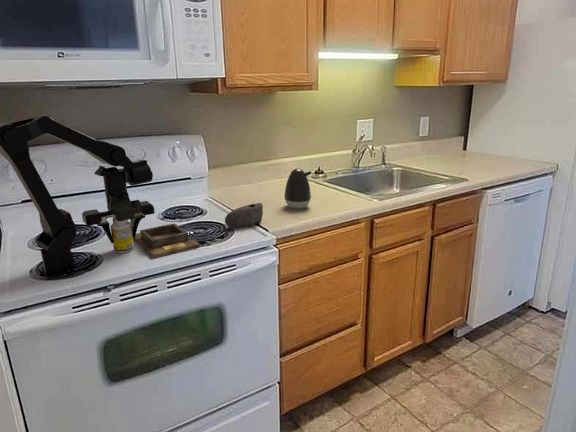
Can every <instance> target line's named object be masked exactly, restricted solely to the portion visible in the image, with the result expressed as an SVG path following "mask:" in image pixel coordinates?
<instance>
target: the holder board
mask: <svg viewBox="0 0 576 432" xmlns="http://www.w3.org/2000/svg"><path fill="white" fill-rule="evenodd" d="M174 233H175V235H174ZM188 236H189V232H187V231H186V230H184V229H183V228H181V227H180V226H179V225H177V224H176V223H168V224H163V225H159V226H155V227H149V228H144V229H141V230H139V232H138V233H137V232H136V235H135V239H133V241H135V242H136V243H137V244H138V245H139V246H140V247H141V248H143V249H144V251H145V252H147V254H149V256H151V257H152V258H153V259H156V258H157V259H158V258H161V257H164V256H170V255H173V254H177V252H178V253H182V252H185V250H186V251H189V249H190V250H193V248H194V249H197V248H196V247H198V248H200V245H201V244H200V243H199V242H198V241H196V240H195V239H193V240H191V239H190V240H189V237H190V236H189V237H188ZM181 251H182V252H181ZM169 254H170V255H169Z"/></svg>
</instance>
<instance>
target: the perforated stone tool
mask: <svg viewBox="0 0 576 432" xmlns="http://www.w3.org/2000/svg"><path fill="white" fill-rule="evenodd" d="M263 209H264V205H263V203H262V202H258V203H251V204H247V205H243V206H240V207H237V208H235V209H233V210H231V211H230V212H228V213H227V214H226V216H225V218H224V224H225V226H227V227H229V228H240V227H242V228H243V227H248V226H252V225H253V226H254V225H255V224H259V223H261V222H262V220H263V217H264V216H263V215H264V213H263V211H264V210H263Z"/></svg>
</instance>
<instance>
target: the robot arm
mask: <svg viewBox="0 0 576 432" xmlns="http://www.w3.org/2000/svg"><path fill="white" fill-rule="evenodd" d="M44 134H46V135H48V136H50V137H52V138H55V139H57V140H60V141H62V142H63V143H64V142H65V143H66V144H69V145H71V146H74V147H75V148H78V149H80V150H83V151H84V152H86V153H88V154H89V155H90V156H91V157H92V158H93V159H95V160H97V161H99V162H100V163H102V164H106V165H109V166H110V167H105V166H102V165H99V167H98V169H96V170H95V171H94V175H96V176H98V177H102V178H103V185H104V195H105V198H106V199H105V200H106V208H107V211H99V210H98V209H96V208H95V209H90V210H83V212H82V214H81V219H82V222H83V223H84V225H86V226H88V227H90V226H96V225H97V227H101V228H102V230H103V231H104V233H105V234H106V236H107V239H108V240H109V242H110V243H111V244H113V238H112V233H111V225H110V224H111V223H110V222H109V221H108V218H113V217H116V219H117V221H124V220H129V222H130V223H131V228H132V236H133V240H134V239H135V235H136V234H137V231H138V226H139V224H140V222H141V220H143V219H145V218H146V216H149V215H154V214H155V213H156V212H155V205H153V204H152V203H150V202H149V201H148V200H143V201H141V200H140V199H134V200H131V199H130V196H129V192H128V188H127V184H129V185H130V186H131V187H133V186H137V185H138V186H139V185H143V184H147V183H151V182H152V181H153V177H154V175H153V171H152V169H151V167H150V165H149V164H148V160H146V159H139V160H135V161H133V160H131V159H130V158H129V157H128V156H127V154H126V153H127V152H126V151H125V150H126V149H125V148H124V146H121V145H119V144H114V143H112V142H106V141H104V140H100V139H96V138H94V137H91V136H89V135H87V134H84V133H83V132H80V131H78V130H76V129H75V128H71V127H70V126H67V125H65V124H63V123H62V122H59V121H57V120H54V119H53V117H50V116H47V115H43V114H42V115H41V114H37V115H34V116H33V117H30V118H25V119H22V120H21V119H20V120H16V121H12V122H9V123H5V122H0V154H1V156H3V158H5V160H6V161H8V163H9V164H10V166H11V167H12V168H13V170H14V172H15V174H16V176H17V177H18V179H19V181H20V182H21V184H22V186H23V188H24V189H25V191H26V193H27V194H28V196H29V198H30V200H31V202H32V203H33V204H34V207H35V208H36V210H37V212H38V215H39V222H40V225H41V229H42V232H40V234H39V235H38V236H37V238H36V239H35V243H36V245H37V247H39V248H40V256H41V260H42V265H43V267H42V269H43V270H42V271H44V272H43V273H44V274H45V277H46V278H52V277H56V276H60V275H63V274H62V273H64V274H66V273H65V272H68V271H73V270H74V271H75V260H74V255H73V252H72V250H71V249H72V246H73V241H74V239H75V238H76V236H77V233H78V232H77V228H76V227H78V225H77V224H76V223H75V222H74V221H73V216H72V214H71V213H70V212H69V211H66V210H64V209H62V208H58V206H57V204H56V203H55V202H54V199H53V197H52V195H51V194H50V192H49V190H48V188H47V186H46V185H45V183H44V180H43V179H42V178H41V176H40V173H39V172H38V170H37V168H36V166H35V164H34V162H33V161H32V159H31V155H30V147H29V144H28V142H29V141H32V140H34V139H36V138H39V137H40V136H43V135H44ZM118 167H122V168H118ZM74 271H73V272H74ZM59 274H60V275H59Z"/></svg>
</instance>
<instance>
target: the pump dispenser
mask: <svg viewBox="0 0 576 432" xmlns="http://www.w3.org/2000/svg"><path fill="white" fill-rule="evenodd" d="M310 175H312V171H307V172H305V171H304V170H303V169H301V168H295V169H293V170H292V171H291V172H290V173H289V175H288V178H287V181H286V184H285V187H284V196H283V197H284V200H285V203H286V204H287V206H288V207H289V208H290V209H294V210H303V209H304V208H307V207H308V206H309V204H310V201H311V200H312V193H311V191H312V190H311V186H310V182H309V179H308V176H310Z"/></svg>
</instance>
